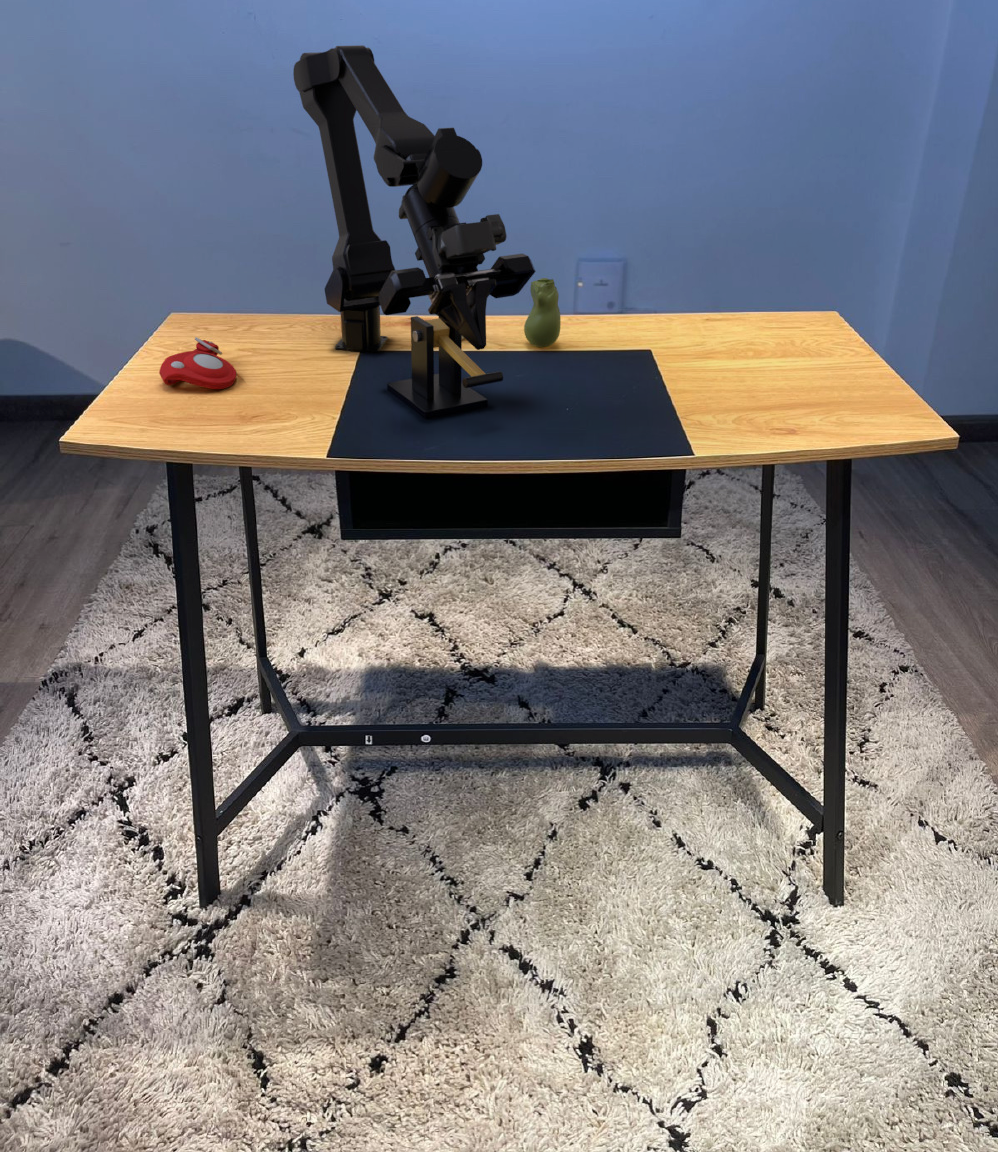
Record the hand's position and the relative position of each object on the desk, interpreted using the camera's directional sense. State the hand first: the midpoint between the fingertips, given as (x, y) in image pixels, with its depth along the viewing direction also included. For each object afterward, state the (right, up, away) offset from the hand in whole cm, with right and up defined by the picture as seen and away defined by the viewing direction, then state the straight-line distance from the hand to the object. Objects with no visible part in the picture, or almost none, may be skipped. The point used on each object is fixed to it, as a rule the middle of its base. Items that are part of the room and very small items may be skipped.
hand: (481, 347), depth 120 cm
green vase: (+8, +7, +33) cm, 35 cm away
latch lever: (-3, 0, +6) cm, 7 cm away
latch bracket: (-6, -4, +14) cm, 16 cm away
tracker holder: (-38, 0, +18) cm, 42 cm away
